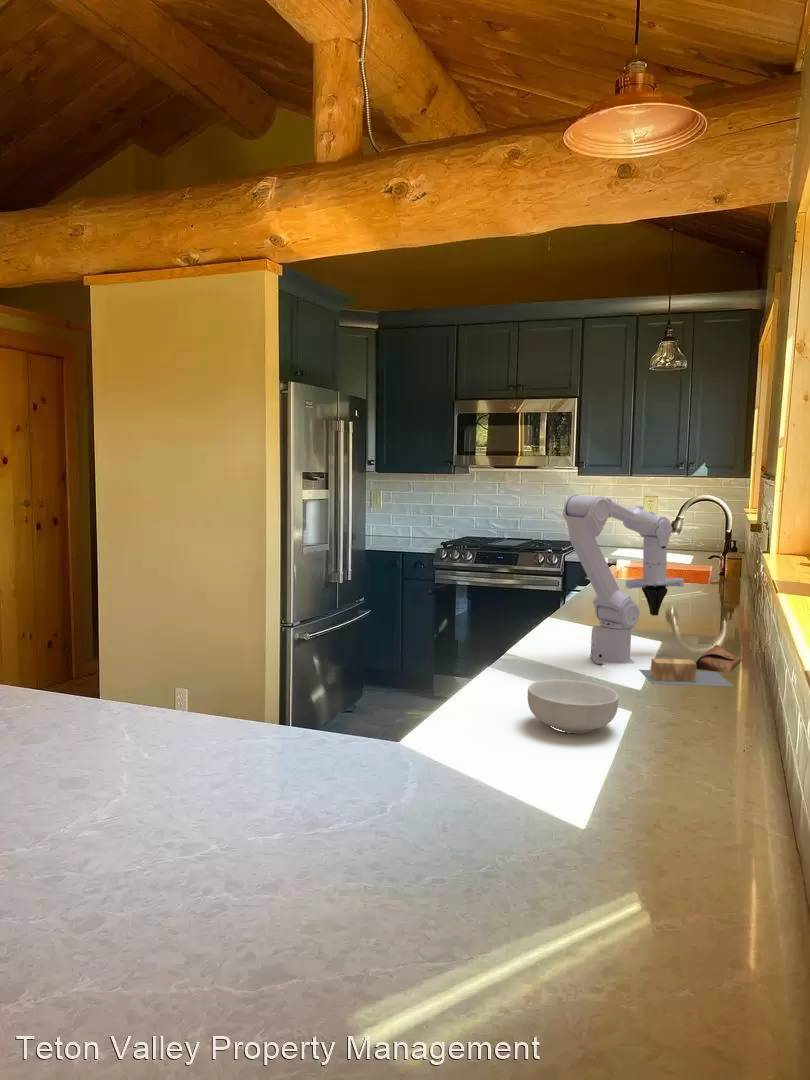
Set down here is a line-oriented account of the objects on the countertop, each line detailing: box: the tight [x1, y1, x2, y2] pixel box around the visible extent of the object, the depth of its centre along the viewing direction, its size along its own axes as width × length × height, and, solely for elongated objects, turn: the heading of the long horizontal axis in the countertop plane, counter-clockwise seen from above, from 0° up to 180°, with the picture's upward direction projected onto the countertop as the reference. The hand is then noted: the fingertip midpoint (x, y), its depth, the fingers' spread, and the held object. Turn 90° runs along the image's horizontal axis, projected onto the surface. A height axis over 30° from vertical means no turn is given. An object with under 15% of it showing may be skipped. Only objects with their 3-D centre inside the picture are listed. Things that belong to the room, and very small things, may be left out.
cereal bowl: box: [527, 679, 620, 735], centre depth 150 cm, size 17×17×7 cm
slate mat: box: [639, 669, 734, 687], centre depth 184 cm, size 18×12×1 cm, turn 87°
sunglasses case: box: [695, 644, 744, 673], centre depth 197 cm, size 18×7×7 cm, turn 148°
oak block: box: [650, 658, 697, 681], centre depth 183 cm, size 4×4×9 cm
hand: (654, 614), depth 207 cm, fingers closed
